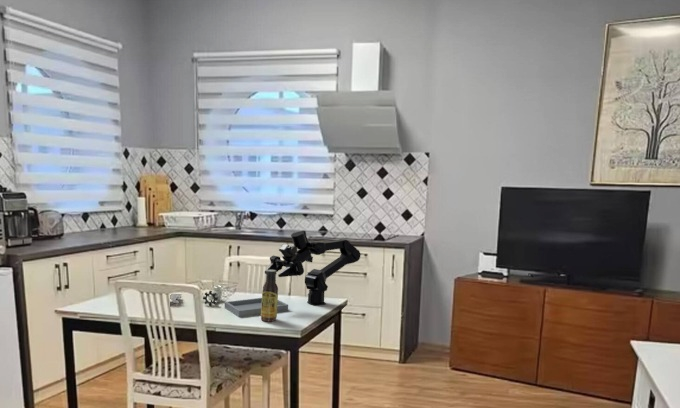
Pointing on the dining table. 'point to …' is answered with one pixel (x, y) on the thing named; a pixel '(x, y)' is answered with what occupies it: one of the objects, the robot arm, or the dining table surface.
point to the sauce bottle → (269, 297)
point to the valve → (214, 295)
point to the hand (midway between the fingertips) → (271, 274)
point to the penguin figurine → (175, 297)
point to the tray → (250, 307)
